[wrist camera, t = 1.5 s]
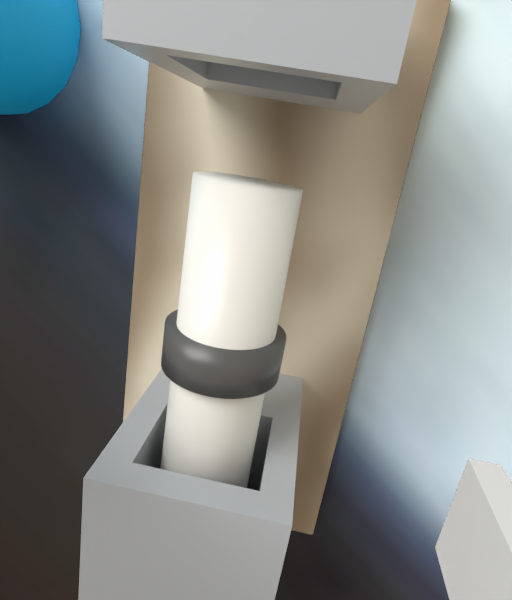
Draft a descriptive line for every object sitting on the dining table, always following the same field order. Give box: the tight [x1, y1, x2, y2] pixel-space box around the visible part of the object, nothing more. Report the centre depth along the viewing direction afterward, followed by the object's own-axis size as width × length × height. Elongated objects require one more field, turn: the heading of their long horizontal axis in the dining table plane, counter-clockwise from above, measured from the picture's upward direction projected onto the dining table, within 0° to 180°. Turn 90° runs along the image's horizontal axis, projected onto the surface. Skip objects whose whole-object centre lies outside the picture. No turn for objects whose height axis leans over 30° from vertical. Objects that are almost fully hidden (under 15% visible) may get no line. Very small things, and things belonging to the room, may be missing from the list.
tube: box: [161, 171, 303, 488], centre depth 18 cm, size 18×4×4 cm, turn 171°
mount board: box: [123, 0, 451, 535], centre depth 24 cm, size 12×28×1 cm, turn 171°
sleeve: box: [78, 369, 303, 600], centre depth 21 cm, size 9×7×10 cm
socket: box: [102, 0, 417, 114], centre depth 15 cm, size 4×7×10 cm, turn 81°
